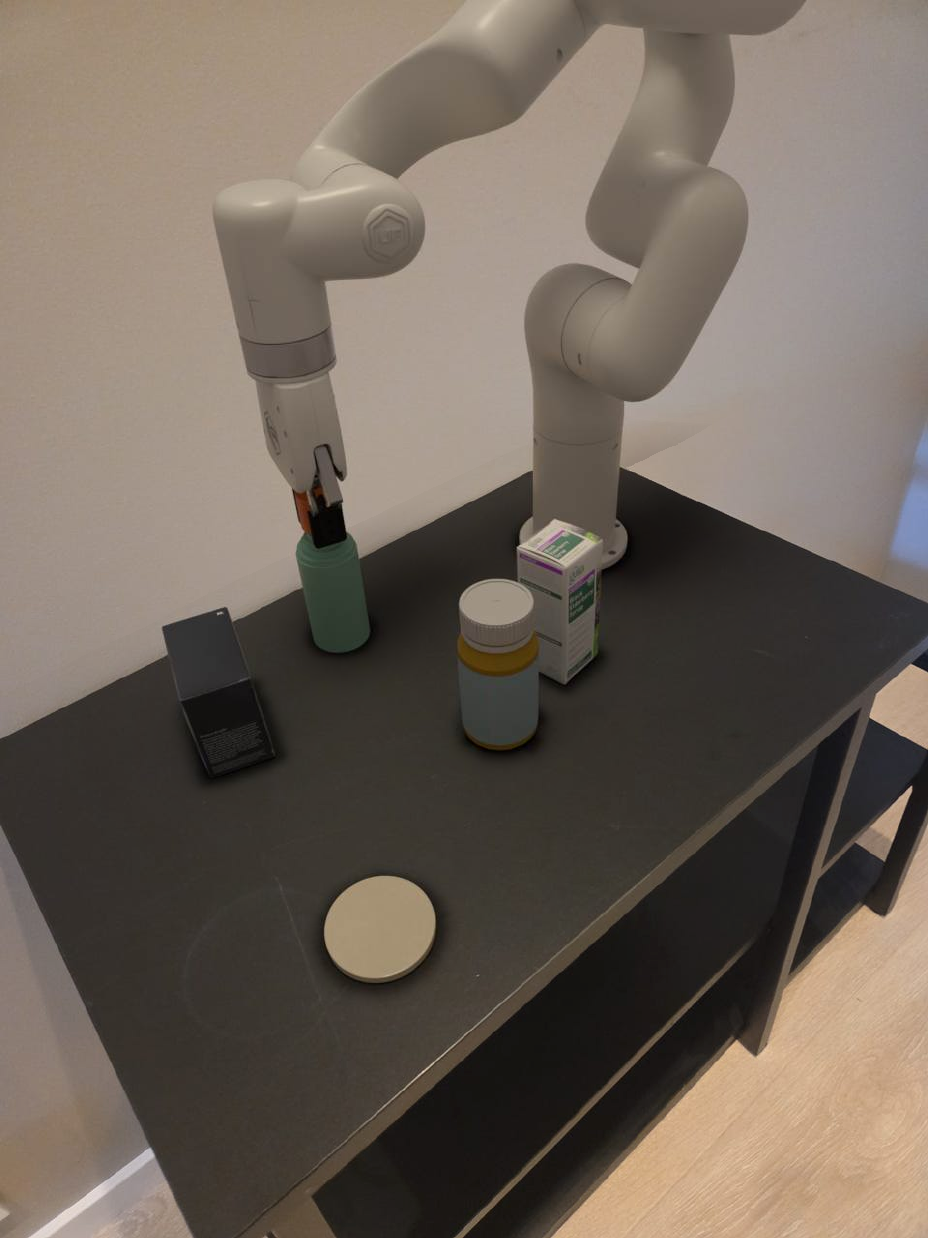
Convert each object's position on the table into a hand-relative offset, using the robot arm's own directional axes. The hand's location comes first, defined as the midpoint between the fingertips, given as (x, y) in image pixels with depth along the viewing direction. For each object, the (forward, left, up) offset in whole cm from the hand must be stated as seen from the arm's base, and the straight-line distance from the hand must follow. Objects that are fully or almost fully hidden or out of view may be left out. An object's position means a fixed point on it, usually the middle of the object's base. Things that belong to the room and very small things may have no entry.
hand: (322, 529), depth 83 cm
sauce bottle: (0, 0, -13) cm, 13 cm away
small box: (+15, -6, -13) cm, 21 cm away
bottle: (+10, +19, -13) cm, 25 cm away
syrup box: (0, +23, -13) cm, 27 cm away
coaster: (+32, +14, -13) cm, 37 cm away
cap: (0, 0, +1) cm, 1 cm away
